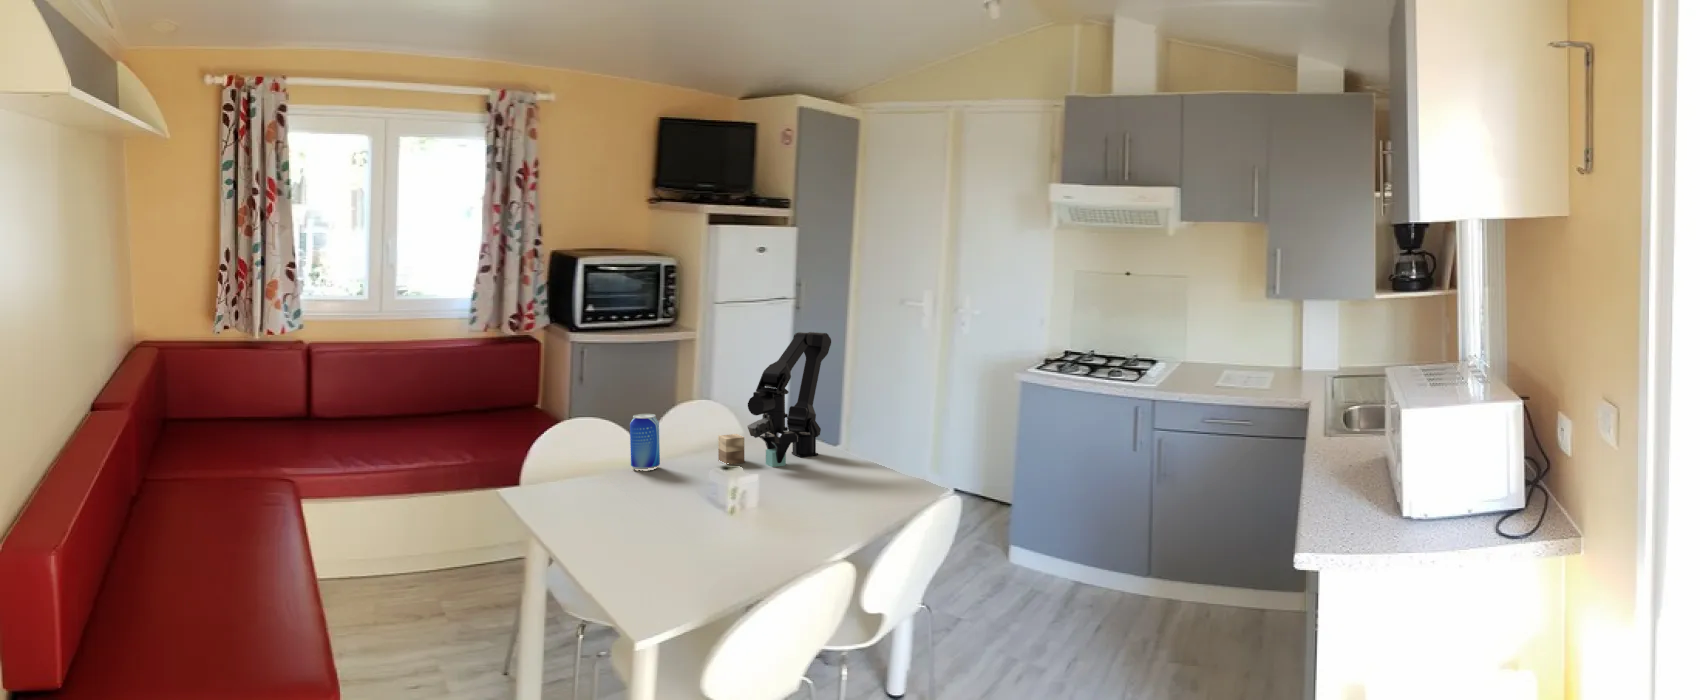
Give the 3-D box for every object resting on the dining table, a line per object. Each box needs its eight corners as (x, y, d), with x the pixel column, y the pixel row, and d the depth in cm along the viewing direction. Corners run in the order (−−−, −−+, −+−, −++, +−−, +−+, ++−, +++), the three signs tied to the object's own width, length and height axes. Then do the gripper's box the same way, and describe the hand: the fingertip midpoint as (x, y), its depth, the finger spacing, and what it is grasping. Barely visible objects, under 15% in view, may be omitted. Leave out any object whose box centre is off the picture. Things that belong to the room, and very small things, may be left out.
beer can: (663, 466, 307) (662, 413, 305) (655, 472, 299) (654, 418, 297) (636, 465, 308) (634, 412, 306) (627, 471, 300) (625, 417, 298)
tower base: (736, 459, 317) (736, 446, 317) (744, 463, 312) (744, 450, 312) (718, 461, 314) (718, 448, 314) (726, 465, 309) (726, 452, 309)
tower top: (736, 446, 317) (736, 433, 316) (744, 450, 311) (744, 437, 311) (718, 448, 314) (718, 435, 313) (726, 452, 309) (725, 439, 308)
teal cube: (779, 462, 312) (779, 447, 312) (785, 465, 309) (785, 450, 308) (765, 464, 310) (765, 449, 310) (772, 467, 306) (772, 452, 306)
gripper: (738, 407, 311) (738, 458, 313) (764, 417, 295) (764, 470, 297) (771, 404, 317) (771, 454, 319) (798, 414, 301) (798, 466, 303)
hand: (775, 461), depth 309 cm, fingers closed on teal cube, 4 cm apart
